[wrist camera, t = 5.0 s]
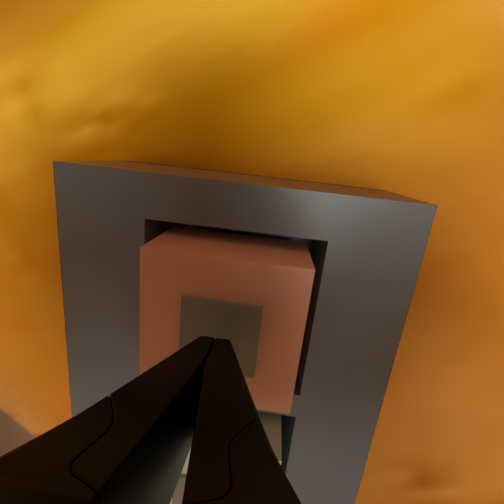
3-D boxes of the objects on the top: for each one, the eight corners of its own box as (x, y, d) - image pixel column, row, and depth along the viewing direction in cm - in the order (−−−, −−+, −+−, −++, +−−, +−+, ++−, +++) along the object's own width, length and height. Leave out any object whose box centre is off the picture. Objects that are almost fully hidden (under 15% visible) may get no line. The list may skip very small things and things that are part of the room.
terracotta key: (287, 358, 13) (289, 417, 10) (169, 341, 13) (137, 394, 10) (306, 242, 12) (316, 271, 9) (173, 226, 12) (137, 248, 9)
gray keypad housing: (304, 538, 21) (312, 651, 16) (129, 509, 21) (86, 609, 17) (383, 190, 14) (437, 205, 9) (126, 160, 15) (53, 160, 10)
